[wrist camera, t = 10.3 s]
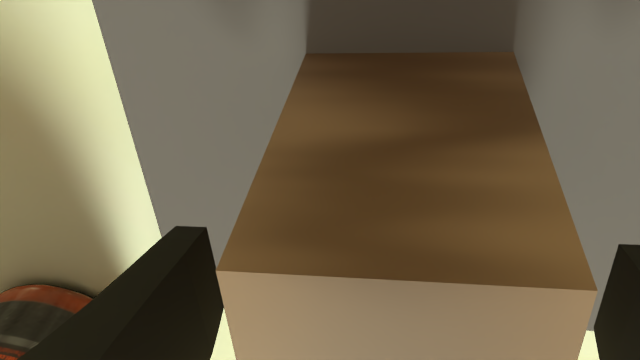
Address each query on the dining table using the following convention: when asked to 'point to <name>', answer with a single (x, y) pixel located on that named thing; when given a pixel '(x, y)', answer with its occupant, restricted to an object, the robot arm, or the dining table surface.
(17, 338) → the supplement bottle
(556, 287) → the walnut block
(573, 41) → the mat
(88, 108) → the dining table surface
